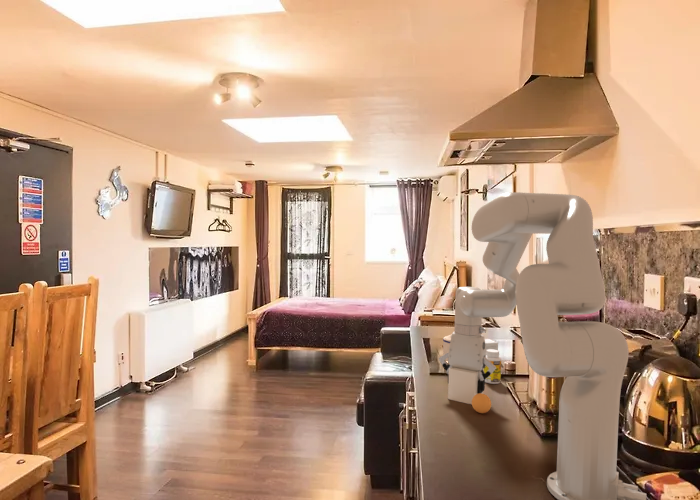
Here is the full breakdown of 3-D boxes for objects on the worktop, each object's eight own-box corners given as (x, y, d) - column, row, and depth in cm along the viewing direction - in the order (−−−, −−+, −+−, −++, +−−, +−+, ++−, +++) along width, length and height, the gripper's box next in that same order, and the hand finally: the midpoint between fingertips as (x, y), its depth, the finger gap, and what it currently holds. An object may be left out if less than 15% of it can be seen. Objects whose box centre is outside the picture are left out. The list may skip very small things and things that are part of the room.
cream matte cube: (482, 397, 130) (483, 367, 129) (474, 405, 123) (475, 373, 123) (457, 391, 134) (458, 362, 134) (447, 398, 127) (448, 368, 127)
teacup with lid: (467, 367, 160) (468, 335, 160) (442, 365, 162) (443, 333, 161) (466, 358, 172) (467, 328, 171) (442, 356, 173) (443, 327, 173)
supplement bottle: (492, 385, 140) (494, 353, 140) (479, 380, 145) (480, 349, 145) (504, 382, 143) (505, 351, 143) (490, 378, 148) (491, 347, 148)
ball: (493, 411, 119) (493, 393, 119) (487, 417, 115) (488, 398, 114) (474, 407, 122) (475, 389, 121) (468, 413, 117) (469, 394, 117)
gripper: (501, 331, 126) (499, 392, 127) (443, 323, 136) (442, 380, 136) (494, 336, 120) (492, 400, 121) (434, 327, 130) (432, 387, 130)
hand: (465, 389), depth 129 cm, fingers closed on cream matte cube, 7 cm apart
